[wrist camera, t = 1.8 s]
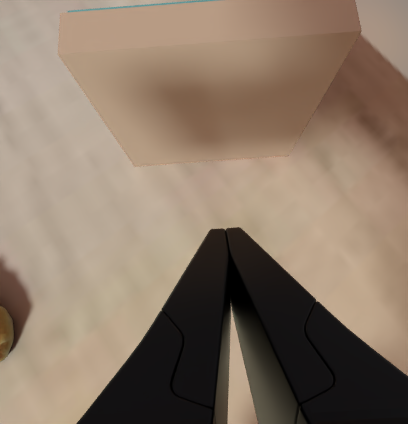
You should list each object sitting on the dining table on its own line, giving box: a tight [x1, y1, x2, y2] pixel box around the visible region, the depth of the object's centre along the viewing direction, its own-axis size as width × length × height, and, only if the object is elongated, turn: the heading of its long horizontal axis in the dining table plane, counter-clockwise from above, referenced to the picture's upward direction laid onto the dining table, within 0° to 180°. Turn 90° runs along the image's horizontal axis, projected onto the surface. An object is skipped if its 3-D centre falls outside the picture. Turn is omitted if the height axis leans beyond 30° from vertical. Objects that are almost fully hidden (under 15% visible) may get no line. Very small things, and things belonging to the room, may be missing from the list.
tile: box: [58, 0, 361, 167], centre depth 18 cm, size 2×12×12 cm, turn 93°
